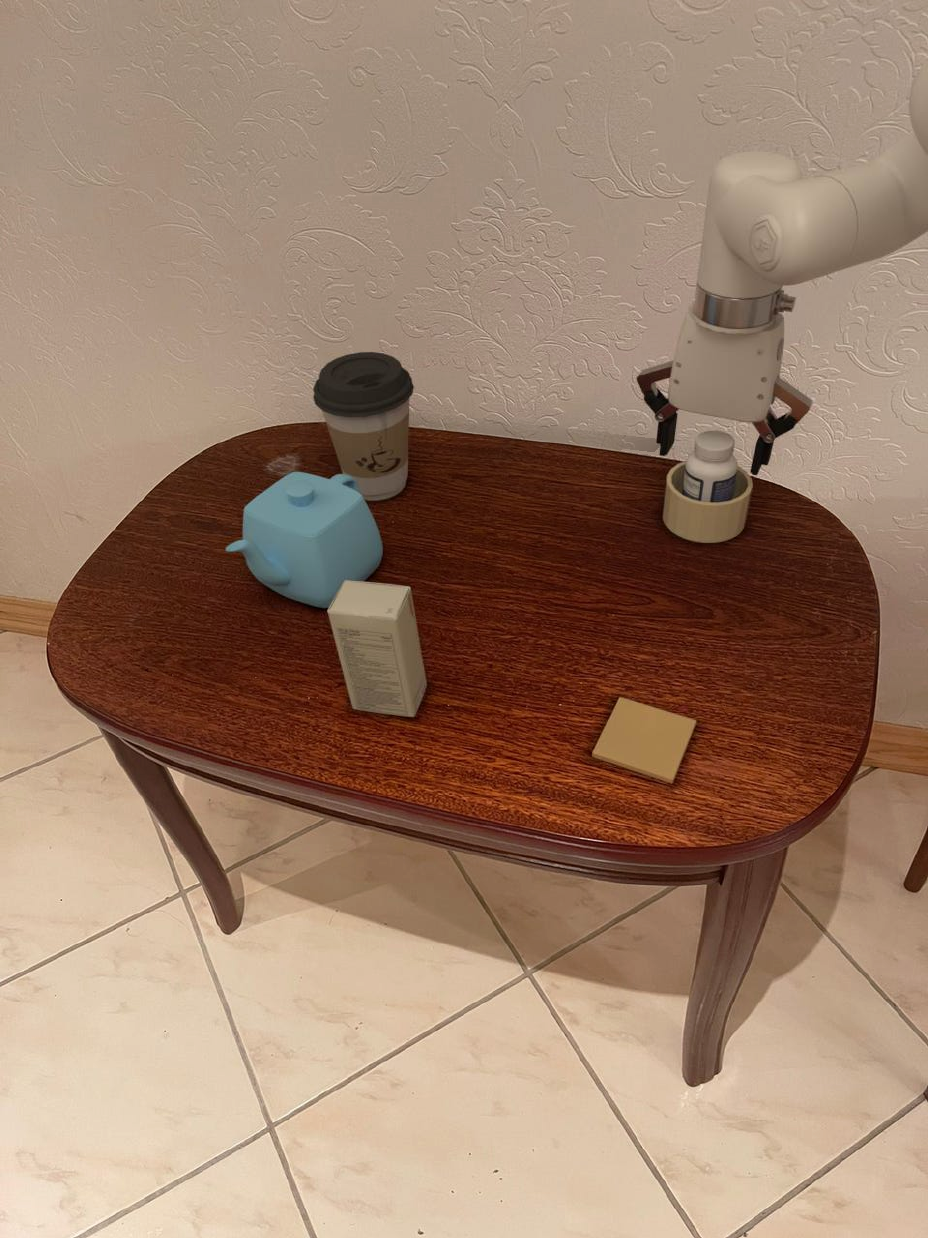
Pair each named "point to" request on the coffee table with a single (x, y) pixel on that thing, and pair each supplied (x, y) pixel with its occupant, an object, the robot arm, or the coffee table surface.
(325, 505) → the teapot
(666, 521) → the bucket
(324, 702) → the coffee table surface
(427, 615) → the coffee table surface
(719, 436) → the pill bottle
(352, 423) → the coffee cup
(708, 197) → the robot arm
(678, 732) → the mat
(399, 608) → the cosmetic box
